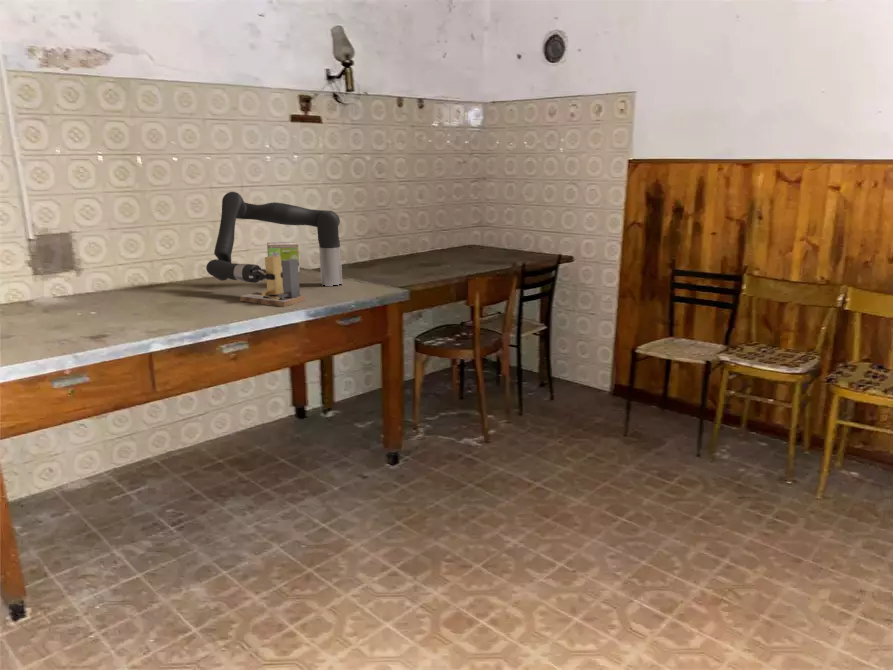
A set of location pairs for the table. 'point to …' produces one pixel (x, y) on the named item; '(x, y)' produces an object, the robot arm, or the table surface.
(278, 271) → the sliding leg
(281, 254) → the tea box
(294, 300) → the divider base
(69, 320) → the table surface
